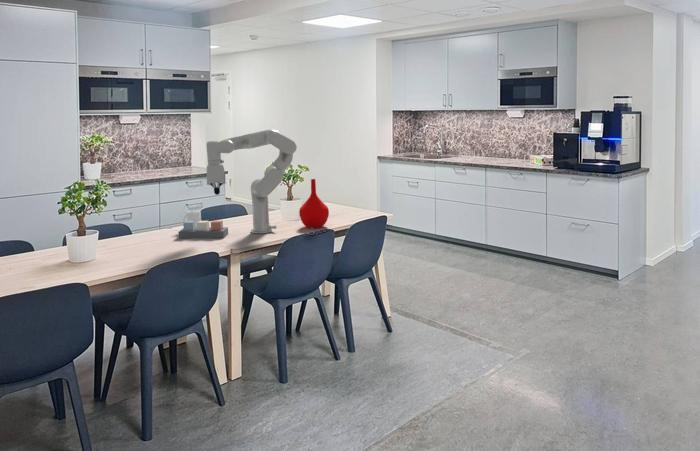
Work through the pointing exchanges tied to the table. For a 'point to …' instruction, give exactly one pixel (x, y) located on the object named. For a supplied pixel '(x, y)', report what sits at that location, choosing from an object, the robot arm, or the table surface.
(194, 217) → the mug
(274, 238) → the table surface
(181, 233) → the console
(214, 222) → the key brick
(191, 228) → the key blue
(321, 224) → the vase
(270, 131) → the robot arm
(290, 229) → the table surface
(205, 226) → the key ivory
